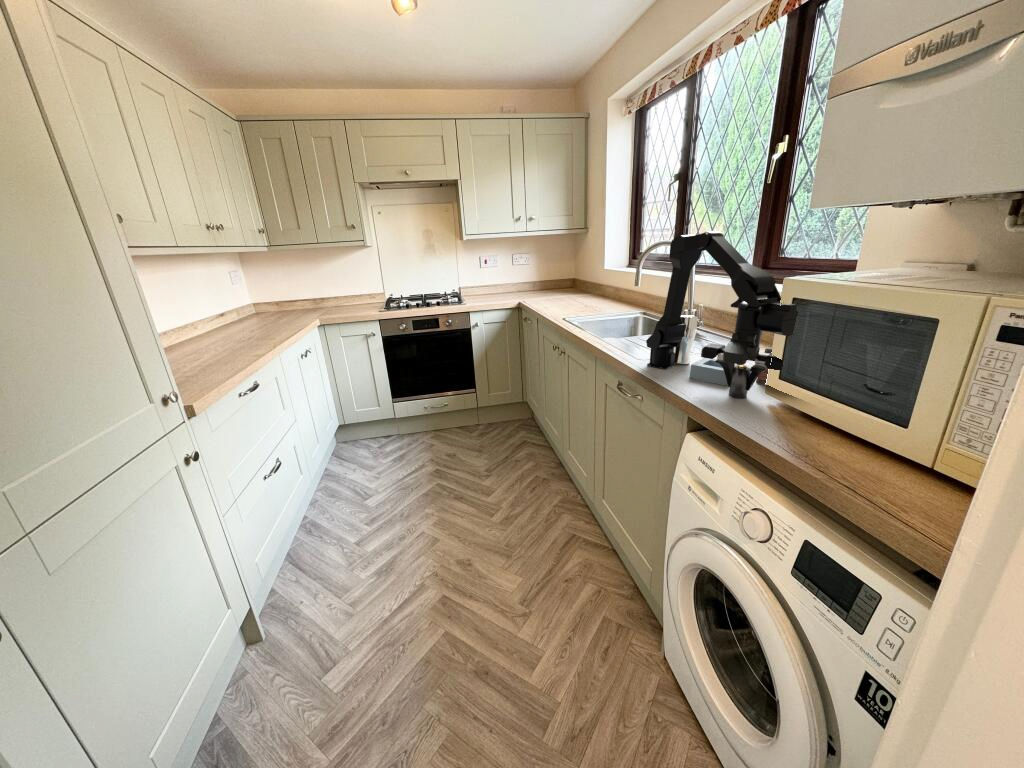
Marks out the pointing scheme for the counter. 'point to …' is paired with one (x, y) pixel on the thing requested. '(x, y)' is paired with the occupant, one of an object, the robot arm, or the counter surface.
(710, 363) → the box
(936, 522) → the counter surface
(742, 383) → the cell
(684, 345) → the shiny silver cylinder
